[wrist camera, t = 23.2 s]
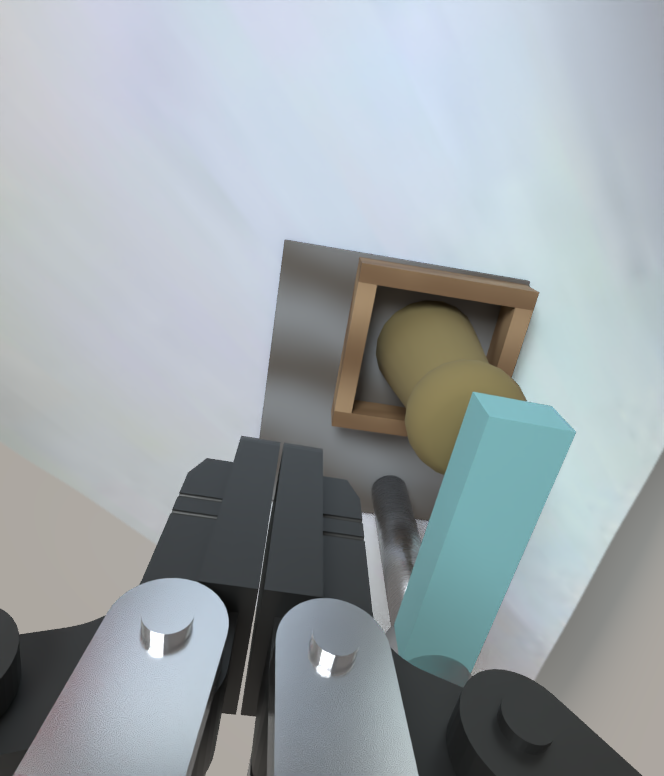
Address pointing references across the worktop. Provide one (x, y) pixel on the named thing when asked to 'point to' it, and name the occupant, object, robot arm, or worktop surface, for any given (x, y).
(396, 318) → the olive rounded bulb piece
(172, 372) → the worktop surface
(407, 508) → the post
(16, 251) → the worktop surface
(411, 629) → the bar
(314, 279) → the grey metal base plate
